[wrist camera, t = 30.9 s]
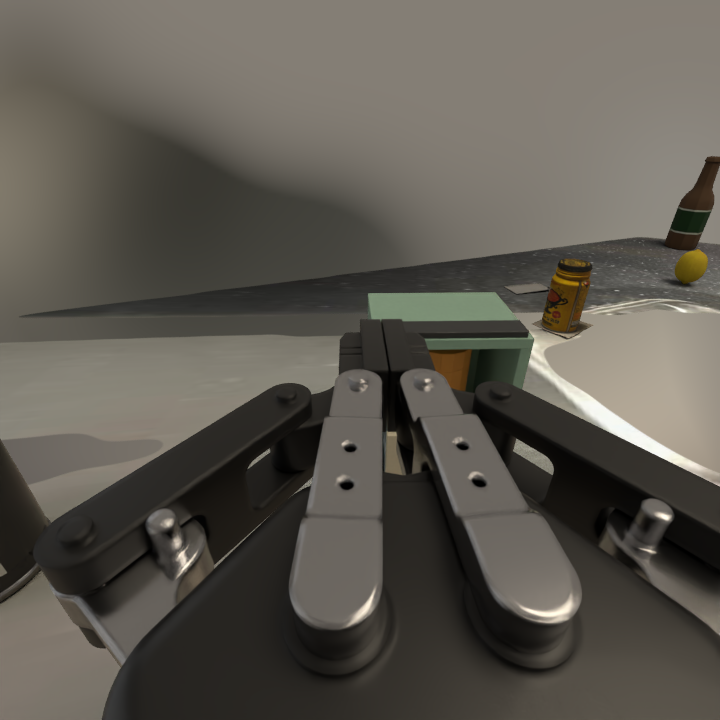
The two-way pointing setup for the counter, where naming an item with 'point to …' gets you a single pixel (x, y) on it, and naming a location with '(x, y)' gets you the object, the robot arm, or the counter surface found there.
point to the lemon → (691, 266)
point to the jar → (453, 366)
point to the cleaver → (527, 288)
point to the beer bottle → (694, 210)
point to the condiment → (567, 298)
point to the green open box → (464, 330)
